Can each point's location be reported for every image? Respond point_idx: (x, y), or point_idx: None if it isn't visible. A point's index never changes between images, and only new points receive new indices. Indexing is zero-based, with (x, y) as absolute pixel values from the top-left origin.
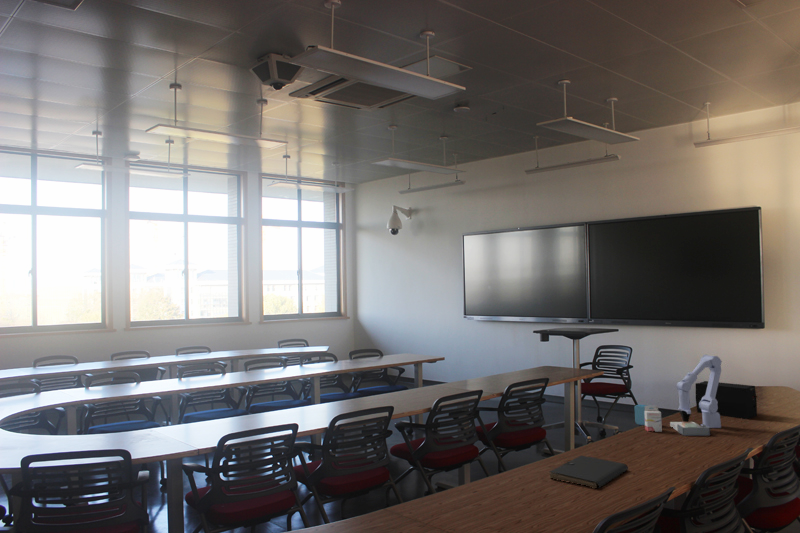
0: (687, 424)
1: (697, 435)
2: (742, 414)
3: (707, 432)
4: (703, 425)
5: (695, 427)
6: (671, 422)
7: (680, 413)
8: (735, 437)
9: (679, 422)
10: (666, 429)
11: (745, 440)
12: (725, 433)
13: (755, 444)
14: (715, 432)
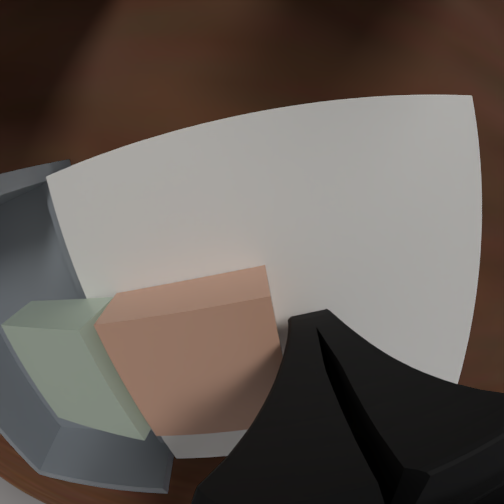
0: (59, 350)
1: (7, 345)
2: None
3: (41, 430)
4: (140, 479)
5: (52, 400)
6: (443, 106)
7: (446, 412)
8: (99, 498)
9: (452, 243)
10: (191, 7)
11: (65, 499)
12: (179, 500)
13: (27, 491)
14: (187, 475)
